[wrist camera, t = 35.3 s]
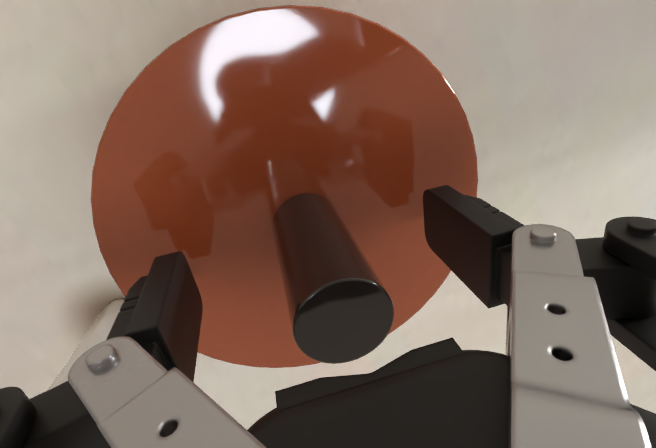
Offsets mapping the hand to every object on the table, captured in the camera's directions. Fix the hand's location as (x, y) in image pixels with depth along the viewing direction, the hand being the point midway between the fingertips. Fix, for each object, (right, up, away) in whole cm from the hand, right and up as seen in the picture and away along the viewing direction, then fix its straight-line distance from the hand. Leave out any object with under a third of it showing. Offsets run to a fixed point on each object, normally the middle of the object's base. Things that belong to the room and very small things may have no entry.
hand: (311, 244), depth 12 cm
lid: (0, +1, +2) cm, 2 cm away
